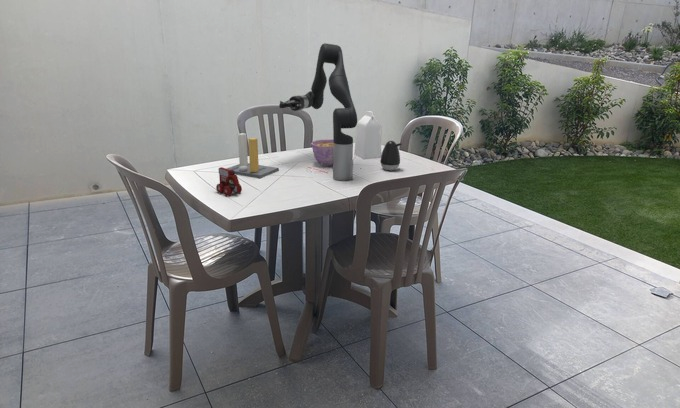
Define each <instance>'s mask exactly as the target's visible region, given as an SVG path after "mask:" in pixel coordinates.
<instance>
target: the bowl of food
mask: <svg viewBox="0 0 680 408" xmlns="http://www.w3.org/2000/svg"><path fill="white" fill-rule="evenodd" d="M311 148H312V153H313V156H314V158H315V160H316V162H318V163H319V164H321V165H323V166H326V167H333V139H318V140H314V141H312V142H311Z"/></svg>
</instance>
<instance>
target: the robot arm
mask: <svg viewBox="0 0 680 408" xmlns="http://www.w3.org/2000/svg"><path fill="white" fill-rule="evenodd" d="M317 55H318V56H317V61H316V68H315V73H314V77H313V81H312V84H311V88H310V90H311V91H308V92H306V94H303V95H300V94H299V95H293V96H291V97H290V98H289V99H287V100H284V101H282V100H280V101H279V105H278V106H279V108H280V109H290V110H291V111H292V112H293V111H294V112H296V111H301V110H304V109H308V108H311V107H312V108H313V109H315V110H319V109H320V108H321V107H322V106H323V104H324V93H325V89H326V86H327V81H328V86H329V90H330V94H331V95H332V96H333V97H334V99H335V100H336V101H338V102H339V103H340V104H341V105H342V106H343V107H338V108H334V110H333V113H332V131H333V134H332V135H333V139H332V140H333V166H332V179H333V180H336V181H351V180H353V176H354V174H353V173H354V160H353V158H354V157H353V156H354V154H353V151H354V138H353V136H351V135H349V134H345V132H343V131H342V129H354V128H356V127H357V123H358V115H357V110H356V108H355V104H354V101H353V100H352V96H351V90H350V85H349V81H348V77H347V74H346V70H345V65H344V64H345V63H344V55H343V50H342V47H341V46H339V45H338V44H333V43H325V42H324V43H322V44H321V45H320V47H319V52H318V54H317ZM324 64H333V65H334V66H335V68H334V69H333V71H332V72H331V73H330V75H329V76H328V79H327V75H326V72H325V69H324Z"/></svg>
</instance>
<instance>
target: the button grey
mask: <svg viewBox="0 0 680 408" xmlns="http://www.w3.org/2000/svg"><path fill="white" fill-rule="evenodd" d="M239 171H240V172H246V171H248V169H247V166H239Z"/></svg>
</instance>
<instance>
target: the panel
mask: <svg viewBox="0 0 680 408" xmlns="http://www.w3.org/2000/svg"><path fill="white" fill-rule="evenodd" d="M239 166H241V165H240V163H238V164H235V165H233V166H229V167H227V168H226V169H229V170H234V171H235V175H238V176H242V177H243V176H245V177H249V178H254V179H262V178H265V177H267V176H270V175H272V174H275V173H277V172H279V171H280V169H279V167H275V166H268V165H263V164H259V171H257V172H250V162H248V165H246V166H247V169H248V171H246V172H240V171H239Z"/></svg>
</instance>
